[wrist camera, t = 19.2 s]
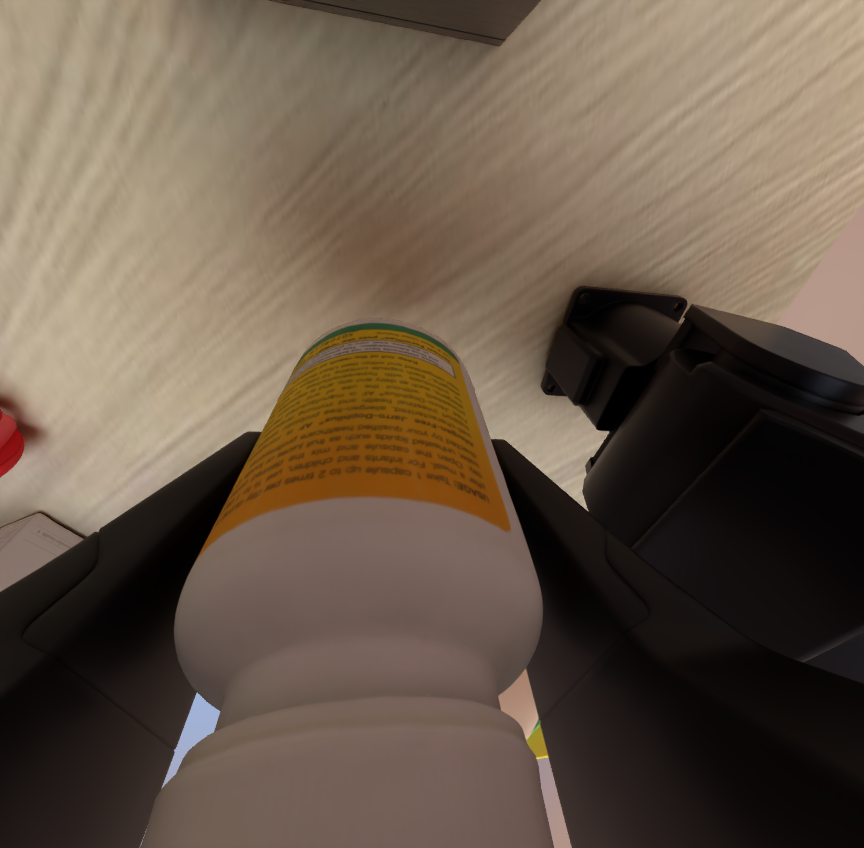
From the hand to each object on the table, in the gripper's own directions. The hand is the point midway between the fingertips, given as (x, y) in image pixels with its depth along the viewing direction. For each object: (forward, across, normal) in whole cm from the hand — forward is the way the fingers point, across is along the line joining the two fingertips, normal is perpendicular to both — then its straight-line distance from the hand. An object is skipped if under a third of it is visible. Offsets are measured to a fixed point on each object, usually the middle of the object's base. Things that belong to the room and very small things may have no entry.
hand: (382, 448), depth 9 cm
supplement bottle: (+3, 0, 0) cm, 3 cm away
